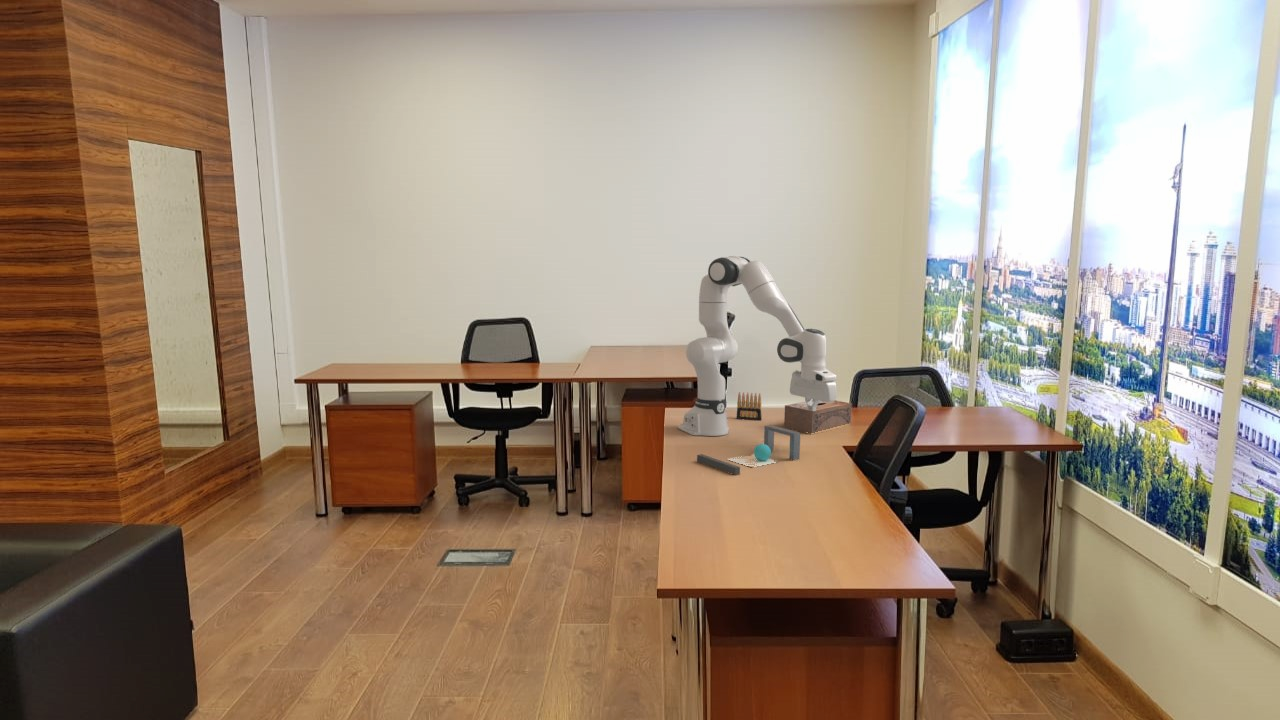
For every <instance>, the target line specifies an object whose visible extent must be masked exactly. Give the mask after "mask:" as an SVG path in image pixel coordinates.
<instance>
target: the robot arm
mask: <svg viewBox="0 0 1280 720" xmlns="http://www.w3.org/2000/svg"><path fill="white" fill-rule="evenodd" d="M707 272H708V273H707V274H705V276H703V277H702V279H701V281H700V286H699V293H698V294H699V297H698V322H699V323H700V324H701V325H702V326H703V327H704V331H705V332H706V337H698V338H696V339H694V340H692V341H690V342H688V344H687V346H686V348H685V356H686V358H687V361H688V362H689V363H690V364H691V365H692V366H693V368H694V371H695V373H696V379H697V397H694V398H693V402H694V406H693V407H691V409H689V410H688V411H687V412H685V413H684V414H683V418H682V419H683V420H682V422H683V423H680V424H678V425H677V426H676V428H677V429H679V430H681V431H682V432H685V433H687V434H689V435H691V436H705V437H709V436H710V437H716V436H717V437H718V436H724V435H725V436H726V435H728V434H729V433H730V432H729V431H730V427H729V425H728V423H729V422H728V414H727V410H726V408H727V398H726V379H725V376H724V375H722V374H721V371H720V370H719V364H723V363H727V362H729V361H730V360H733V359H735V357H736V356H737V355H738V352H739V345H738V342H737V340H736V339H735V338H734V337H733V336H732V333H731V331H730V328H729V324H728V313H727V312H728V290H729V288H731V287H736V286H739V285H741V286H743V287H744V289H745V291H746V293H747V295H748V297H749V299H750V301H751V303H752V304H753V305H754V307H755V308H756V309H757V310H758V311H760V312H763V313H766V314H769V315H771V316H773V317H775V319H778V321H779V322H780V323H781V325H782V327H783V329H784V330H785V332H786V334H787V335H788V336H787V337H784V338H783V339H781V340H780V341H779V342H778V343H777V344H778V345H777V347H776V352H777V355H778V357H779V359H780V360H781V361H783V362H785V363H789V364H790V363H799V362H800V365H801V366H800V369H801V370H797V369H796V370H795V371H793V372H792V373H791V379H790V384H789V385H790V386H789V393H790V395H793V396H796V397H802V398H804V400H805V401H804V402H806V404H807V410H811V411H816V406H817V405H818V403H819V401H824V402H834V401H835V400H836V401H837V397H838V396H837V390H838V389H837V383H836V381H837V374H834V373H833V372H832V371H830V370H829V369H827V367H826V366H827V365H826V356H827V336H826V334H825V333H824V332H823V331H822V330H820V329H815V328H806V329H805V328H804V326H803V325H802V323H801V321H800V320H799V318H798V316H797V314H796V313H795V311H794V309H793V308H792V307H791V305H790V304H789V302H788V301H787V299H786V298H785V297H784V295H783V293H782V292H781V290H780V289H779V287H778V285H777V284H776V281H775V279H774V278H773V276H772V275H771V272H770V271H769V270H768V268H767V267H766V266H765V265H764V263H763V262H762V261H760V260H753V261H752V260H750V259H749V258H746V257H744V256H735V255H733V256H731V255H730V256H725V257H723V256H722V257H718V258H716V259H713V261H711V263H710V264H709V265H708V269H707ZM812 400H813V401H812ZM811 401H812V402H814V403H813V405H812V403H811Z"/></svg>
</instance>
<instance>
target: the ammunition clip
mask: <svg viewBox="0 0 1280 720" xmlns="http://www.w3.org/2000/svg"><path fill="white" fill-rule="evenodd" d="M736 408H737V409H736V418H735V419H736V420H742V419H744V420H745V421H759V422H761V421H762V395H761V392H759V393H758V395H757V392H755V393H754V395H753V392H751V393H750V394H749V392H746V395H745V392H744V391H743V392H742V396H741V392H740V391H739V392H738V394H737V407H736ZM744 420H743V421H744Z"/></svg>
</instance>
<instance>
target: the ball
mask: <svg viewBox="0 0 1280 720" xmlns="http://www.w3.org/2000/svg"><path fill="white" fill-rule="evenodd" d="M753 454H754V456H755V457H756V459H758V460H760V461H766V460H767V459H770V457H771V455H772V452H771V450H770V448H769V447H768V446H767V445H765V444H764V443H760V444H757V445H756V446H755V447H754V450H753Z"/></svg>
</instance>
